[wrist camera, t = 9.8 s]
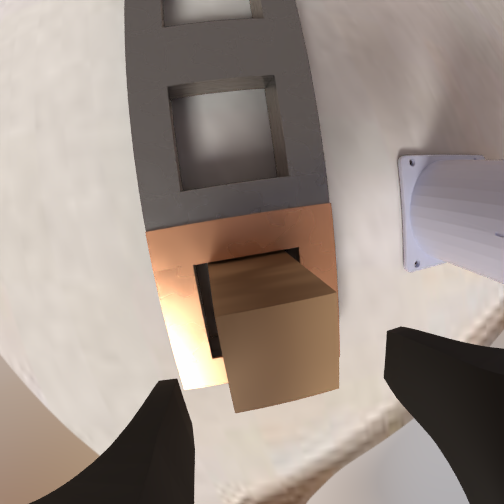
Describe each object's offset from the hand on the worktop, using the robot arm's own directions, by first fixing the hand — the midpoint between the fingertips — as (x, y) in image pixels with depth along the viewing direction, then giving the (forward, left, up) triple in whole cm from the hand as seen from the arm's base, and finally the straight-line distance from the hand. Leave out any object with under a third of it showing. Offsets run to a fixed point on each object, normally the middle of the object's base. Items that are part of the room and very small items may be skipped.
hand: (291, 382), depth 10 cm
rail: (0, -9, -10) cm, 13 cm away
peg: (0, 0, -10) cm, 10 cm away
